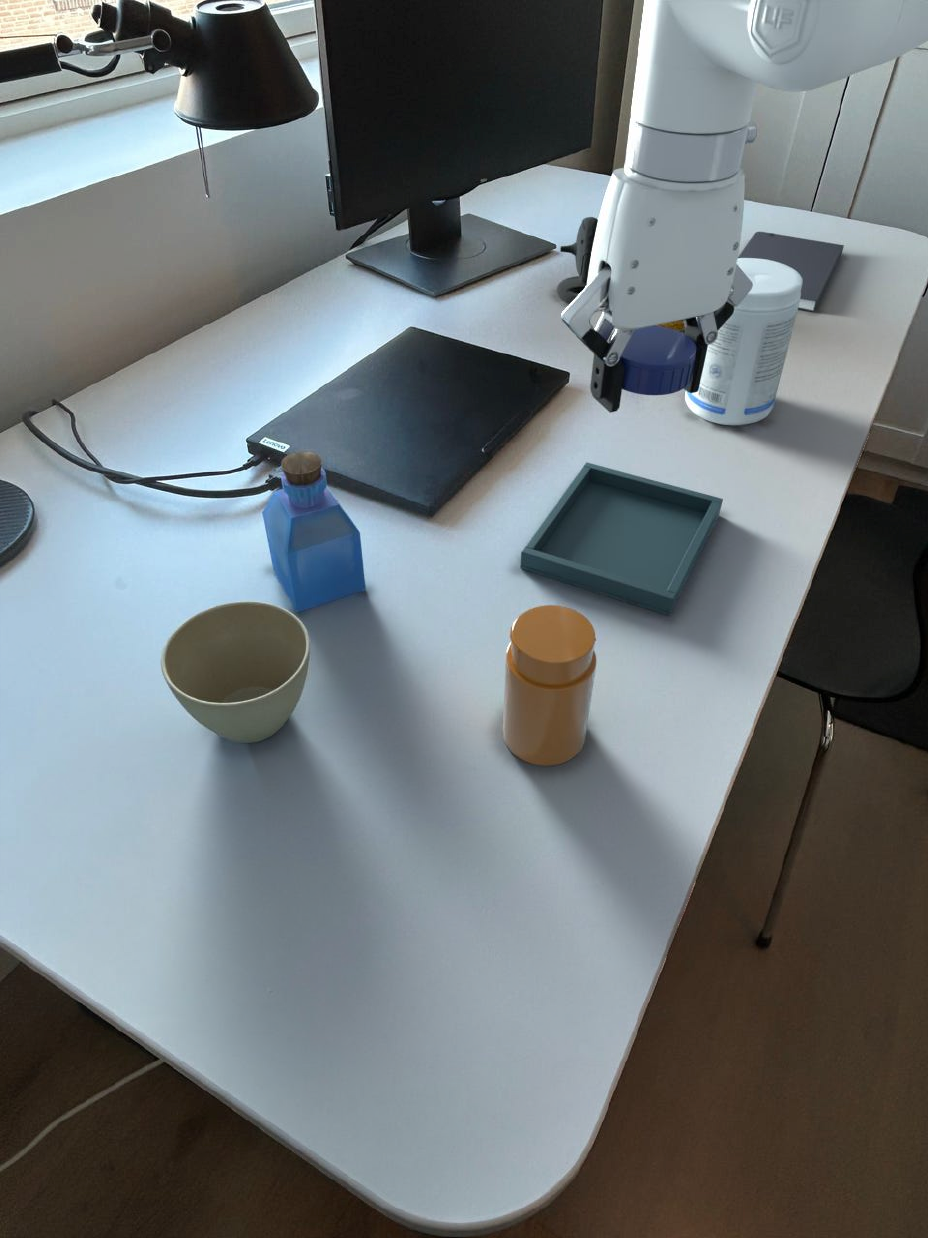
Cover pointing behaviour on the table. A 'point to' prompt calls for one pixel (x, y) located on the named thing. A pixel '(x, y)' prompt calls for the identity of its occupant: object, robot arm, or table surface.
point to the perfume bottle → (312, 536)
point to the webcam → (579, 260)
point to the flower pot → (238, 668)
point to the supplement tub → (750, 348)
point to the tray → (623, 537)
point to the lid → (657, 361)
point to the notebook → (798, 261)
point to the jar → (548, 684)
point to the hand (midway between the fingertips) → (644, 392)
